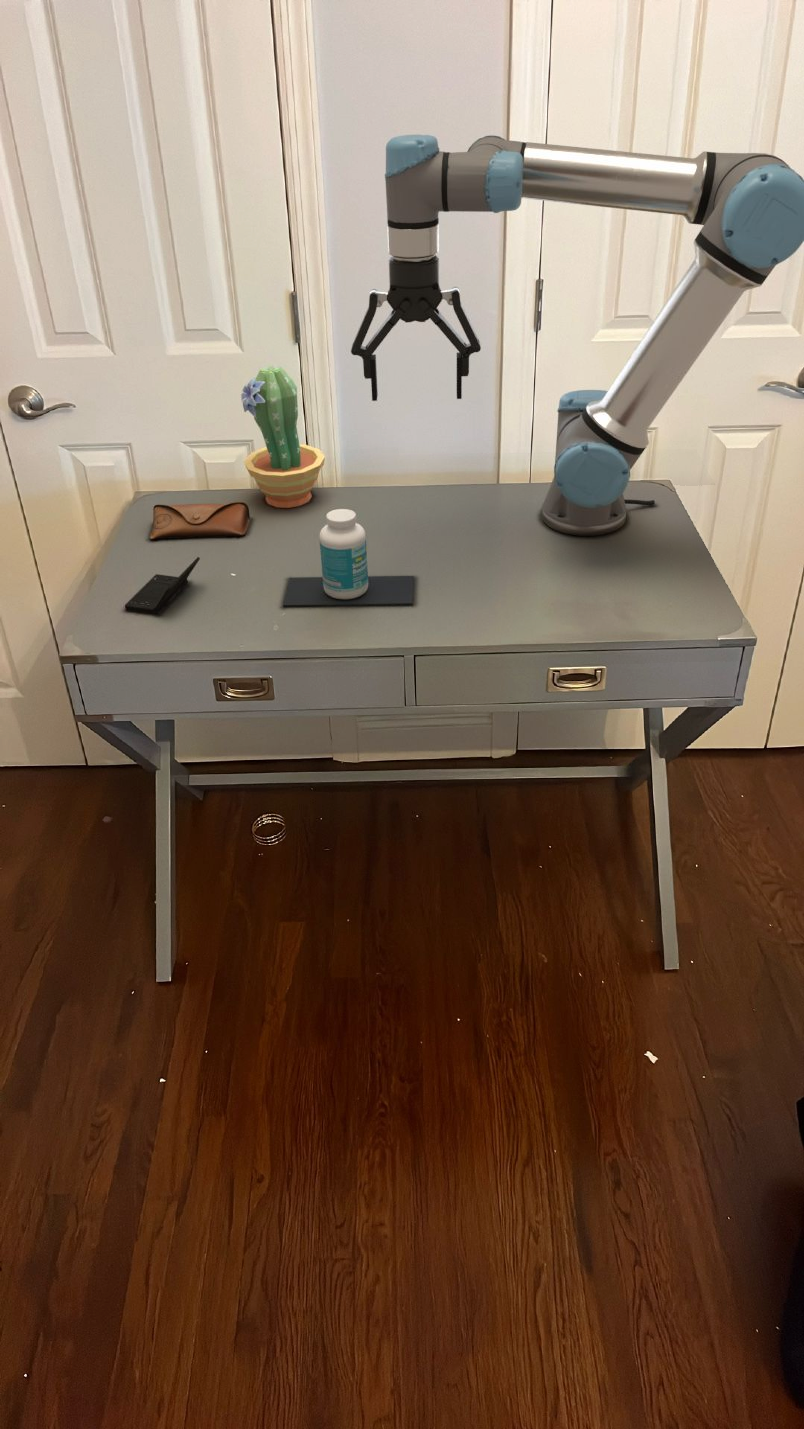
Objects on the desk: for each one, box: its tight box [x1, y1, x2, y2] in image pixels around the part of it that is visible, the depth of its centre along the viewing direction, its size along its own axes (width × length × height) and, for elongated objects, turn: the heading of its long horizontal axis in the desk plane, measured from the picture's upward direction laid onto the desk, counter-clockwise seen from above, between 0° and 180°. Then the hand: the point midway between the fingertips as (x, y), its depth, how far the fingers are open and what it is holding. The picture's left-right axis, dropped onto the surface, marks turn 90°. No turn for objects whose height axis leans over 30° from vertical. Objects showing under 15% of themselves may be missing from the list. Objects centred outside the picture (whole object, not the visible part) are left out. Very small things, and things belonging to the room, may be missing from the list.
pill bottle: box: [318, 508, 369, 599], centre depth 160 cm, size 8×7×14 cm
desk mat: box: [282, 575, 415, 608], centre depth 164 cm, size 21×9×1 cm, turn 88°
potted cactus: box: [240, 365, 326, 509], centre depth 187 cm, size 15×15×25 cm
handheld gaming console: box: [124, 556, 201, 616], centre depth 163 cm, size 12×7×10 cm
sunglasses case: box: [149, 501, 251, 540], centre depth 184 cm, size 18×7×7 cm, turn 92°
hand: (416, 397), depth 161 cm, fingers open, 13 cm apart
